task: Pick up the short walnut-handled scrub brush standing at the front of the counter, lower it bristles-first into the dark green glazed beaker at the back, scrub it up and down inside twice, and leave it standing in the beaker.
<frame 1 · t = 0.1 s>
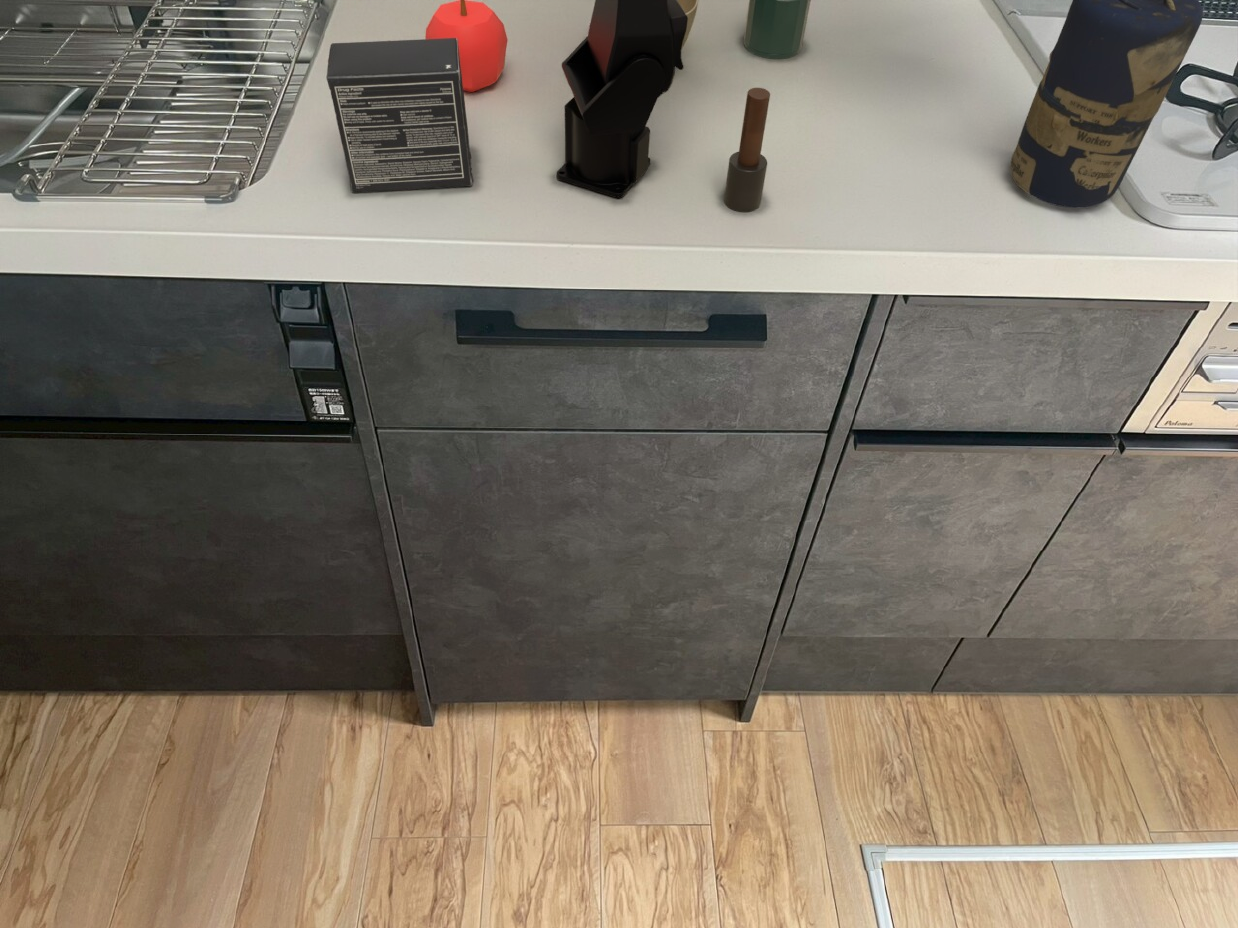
brush: (742, 201, 82), on the worktop
small box: (412, 172, 83), on the worktop
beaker: (772, 45, 101), on the worktop
flower pot: (643, 69, 97), on the worktop
apple: (470, 82, 94), on the worktop
canister: (1057, 187, 85), on the worktop
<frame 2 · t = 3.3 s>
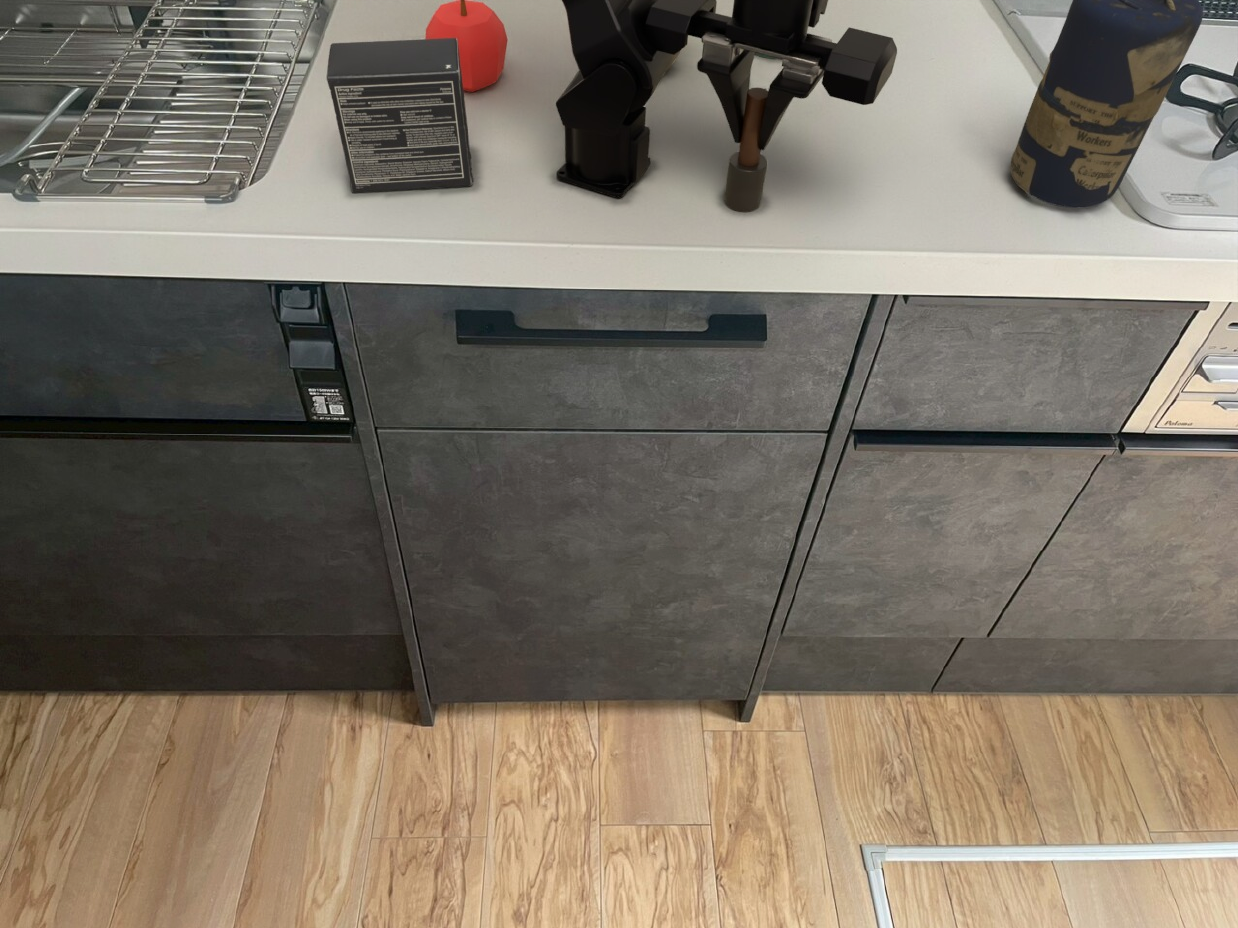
hand: (751, 144, 78), 6 cm above the worktop, tool pointing down, fingers closed on brush, 2 cm apart
brush: (742, 201, 82), on the worktop, touching gripper
everything else where it was.
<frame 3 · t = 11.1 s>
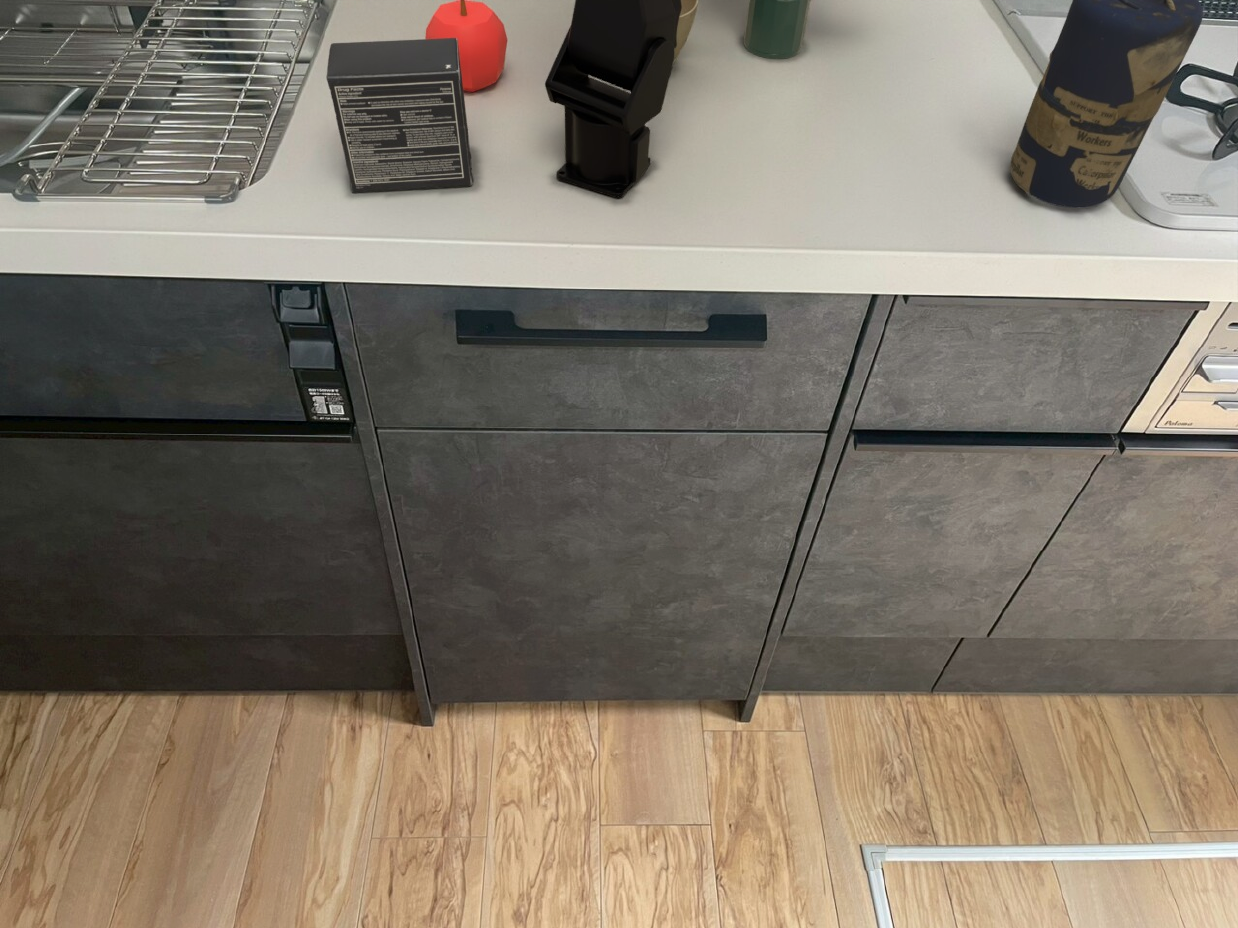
brush: (773, 40, 100), resting on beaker
everything else where it was.
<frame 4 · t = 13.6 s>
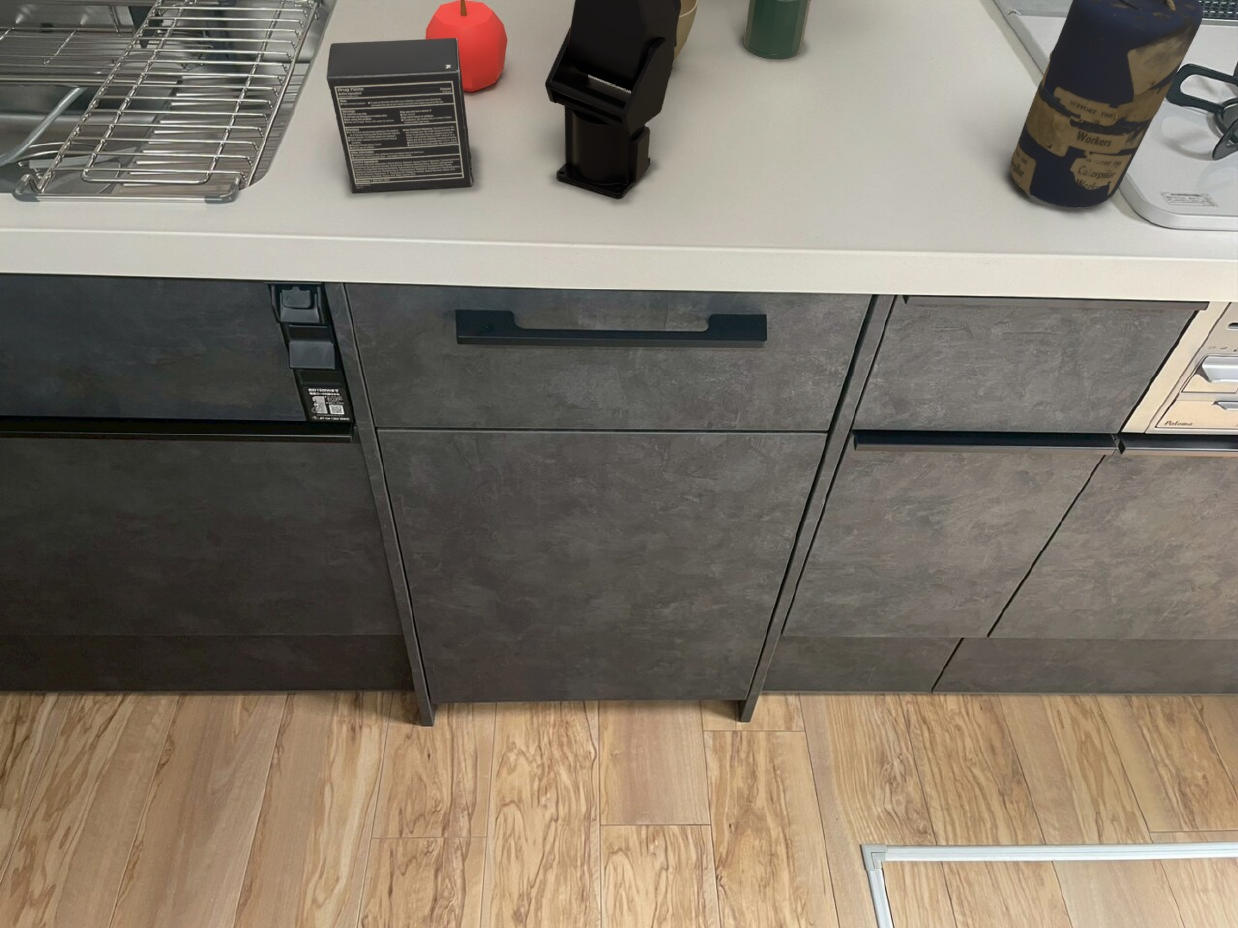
nothing on the worktop moved.
at the end: brush 0.1 cm off-centre in the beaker, point 0.5 cm above the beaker's base; the gripper is holding nothing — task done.
